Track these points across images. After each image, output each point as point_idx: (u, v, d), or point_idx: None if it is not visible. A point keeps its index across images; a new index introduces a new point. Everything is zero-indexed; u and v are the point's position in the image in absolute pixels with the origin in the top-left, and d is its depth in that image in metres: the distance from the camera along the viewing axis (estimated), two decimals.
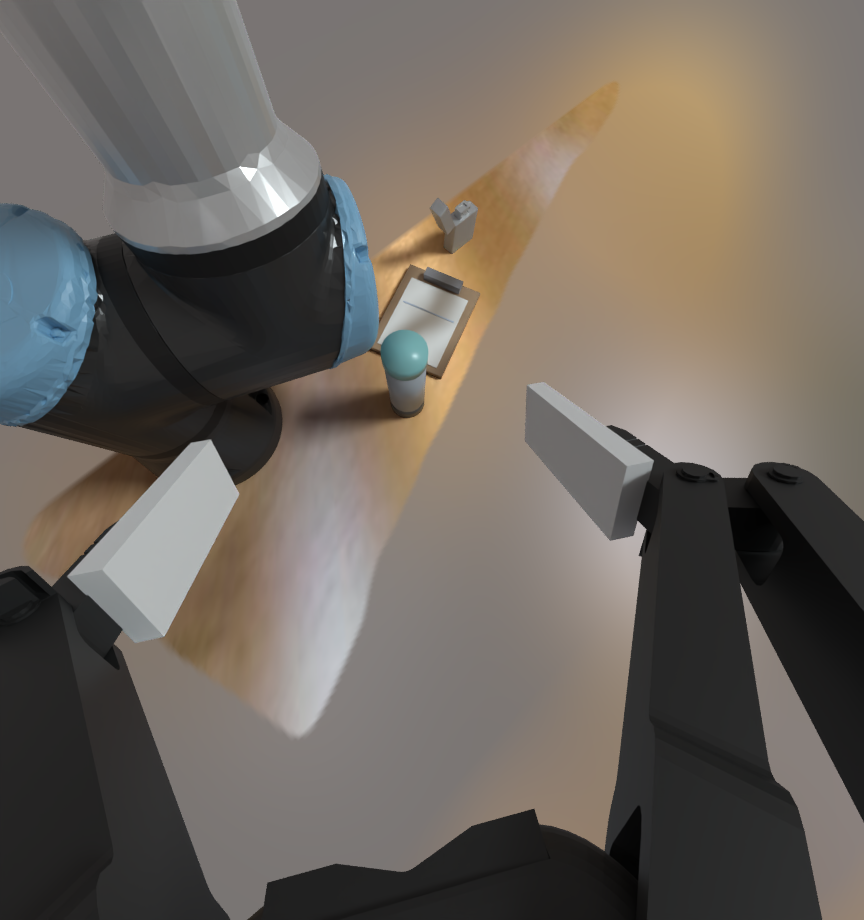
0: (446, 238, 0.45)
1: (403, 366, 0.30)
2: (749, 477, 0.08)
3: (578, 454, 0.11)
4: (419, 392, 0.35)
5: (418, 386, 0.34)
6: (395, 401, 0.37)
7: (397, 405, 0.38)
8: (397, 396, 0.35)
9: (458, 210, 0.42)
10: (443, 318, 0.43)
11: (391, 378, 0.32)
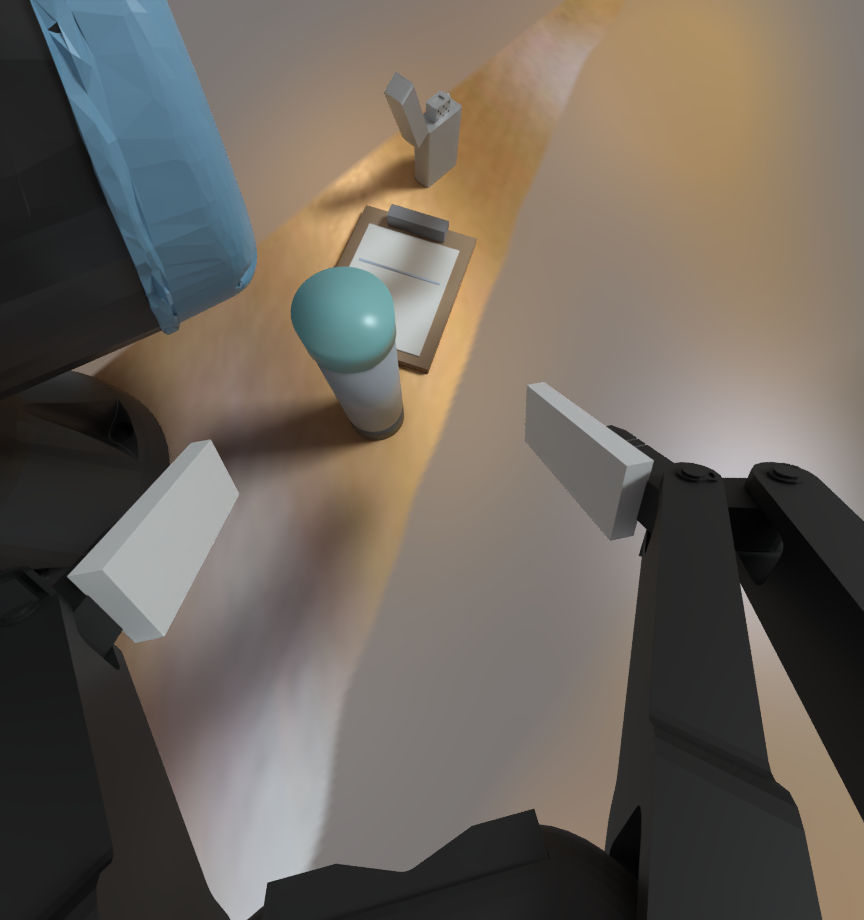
0: (417, 161, 0.30)
1: (342, 341, 0.14)
2: (749, 477, 0.08)
3: (578, 454, 0.11)
4: (390, 396, 0.19)
5: (385, 383, 0.18)
6: (351, 416, 0.21)
7: (356, 422, 0.22)
8: (350, 407, 0.20)
9: (431, 105, 0.26)
10: (424, 280, 0.28)
11: (326, 371, 0.16)
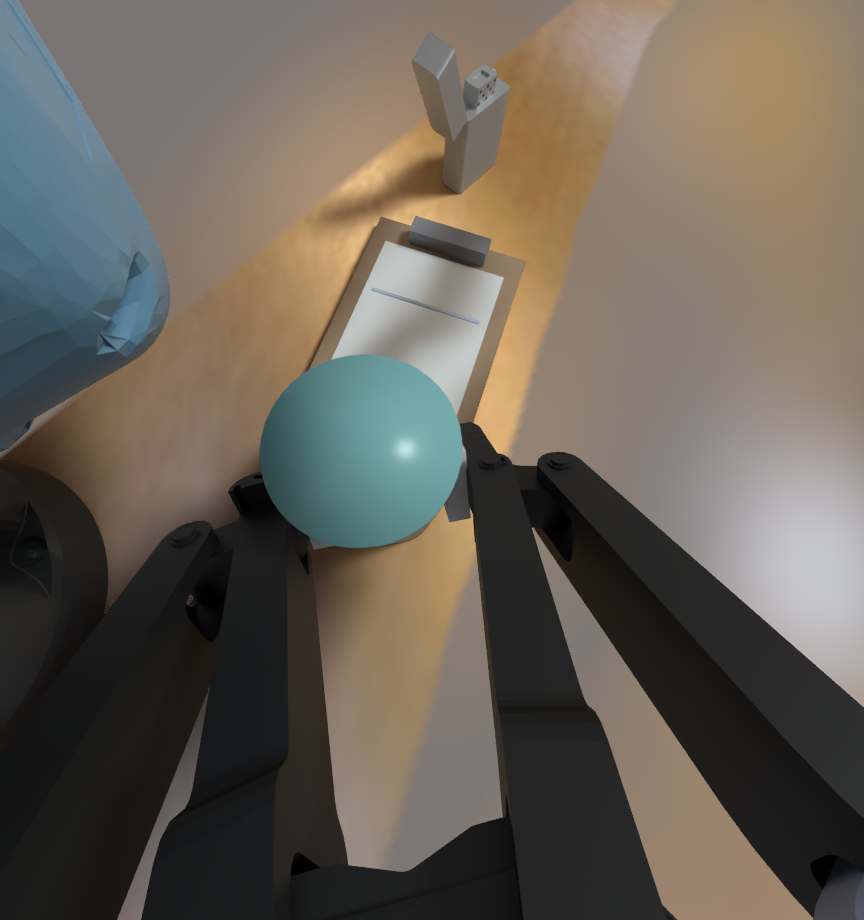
0: (448, 160, 0.23)
1: (361, 515, 0.07)
2: (537, 470, 0.10)
3: None
4: None
5: None
6: None
7: None
8: None
9: (472, 84, 0.19)
10: (458, 317, 0.21)
11: None
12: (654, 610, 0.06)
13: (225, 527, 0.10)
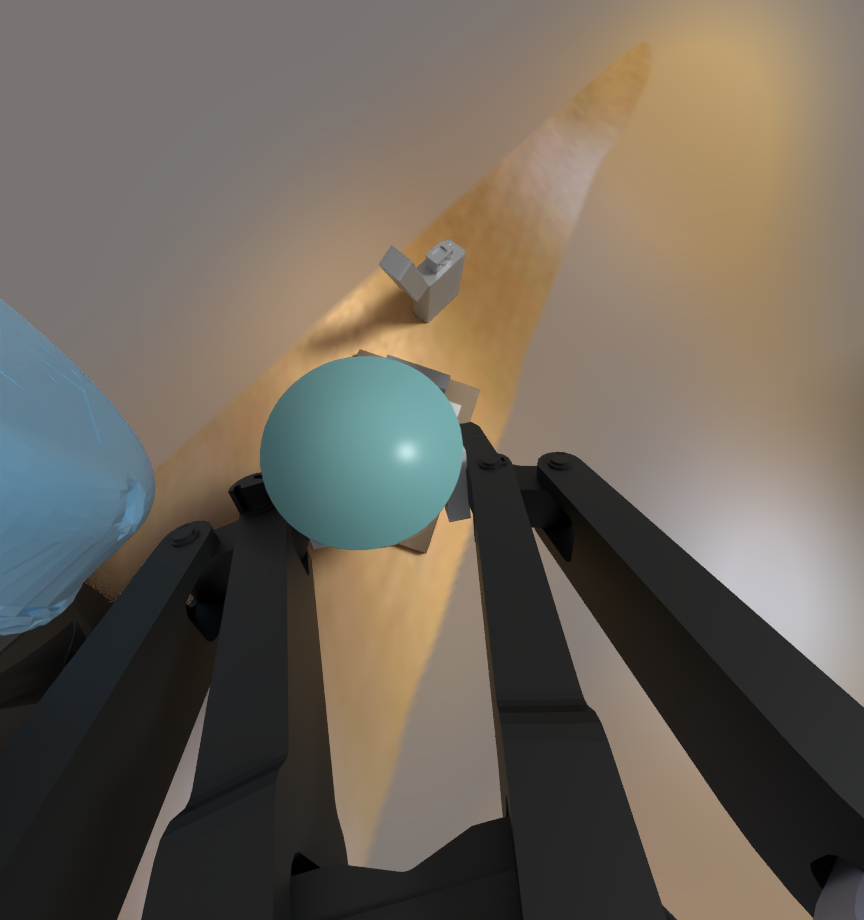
0: (416, 302, 0.27)
1: (362, 517, 0.07)
2: (537, 470, 0.10)
3: None
4: None
5: None
6: None
7: None
8: None
9: (432, 259, 0.24)
10: None
11: None
12: (654, 610, 0.06)
13: (225, 527, 0.10)
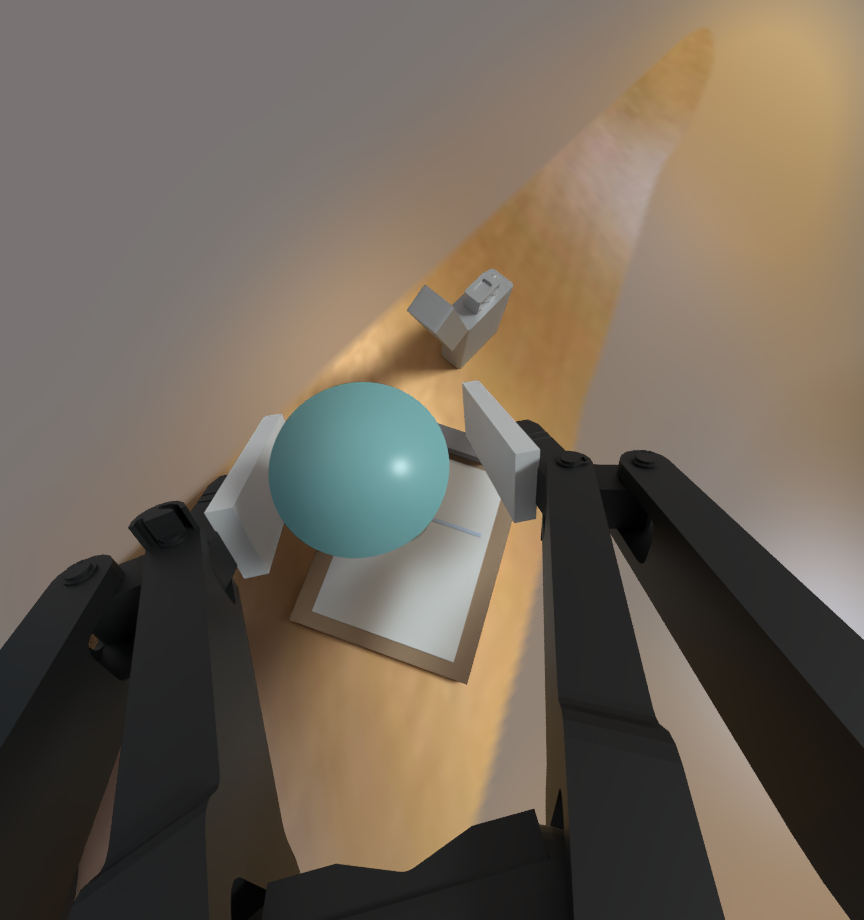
0: (447, 345, 0.21)
1: (359, 528, 0.08)
2: (619, 466, 0.09)
3: (492, 445, 0.12)
4: None
5: None
6: None
7: None
8: None
9: (473, 297, 0.18)
10: (458, 529, 0.20)
11: None
12: (738, 620, 0.06)
13: (135, 560, 0.09)
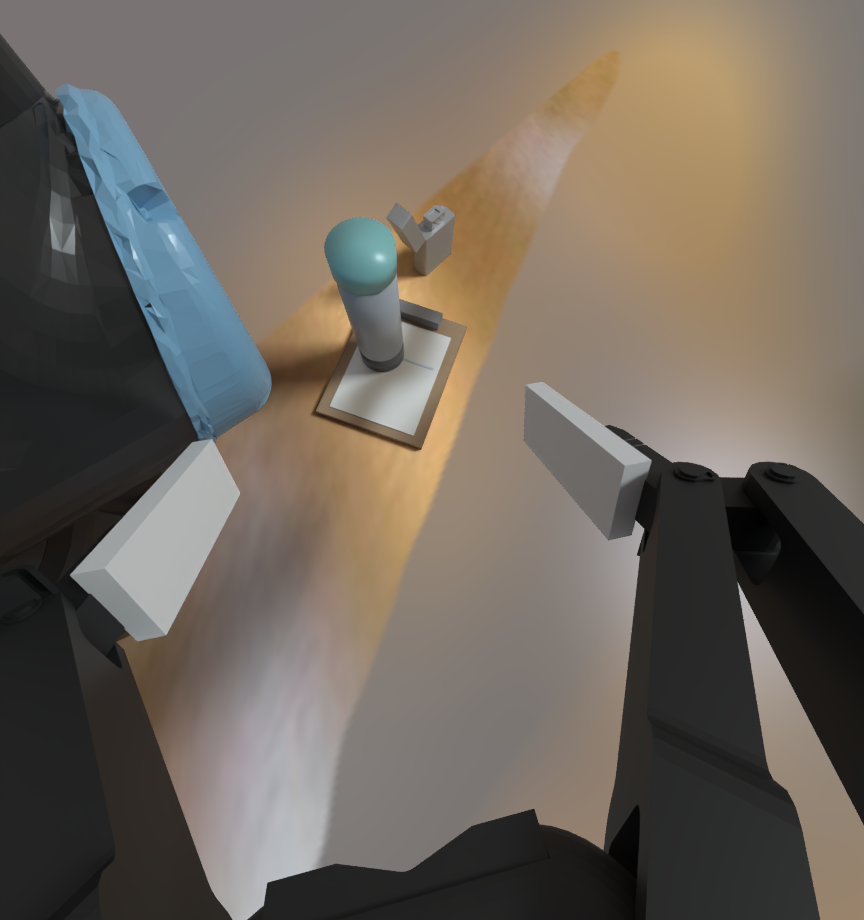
0: (416, 257, 0.34)
1: (359, 267, 0.20)
2: (746, 477, 0.08)
3: (576, 454, 0.11)
4: (392, 324, 0.26)
5: (389, 310, 0.24)
6: (362, 344, 0.28)
7: (366, 351, 0.28)
8: (362, 333, 0.26)
9: (428, 218, 0.30)
10: (419, 365, 0.32)
11: (347, 296, 0.22)
12: None
13: None
